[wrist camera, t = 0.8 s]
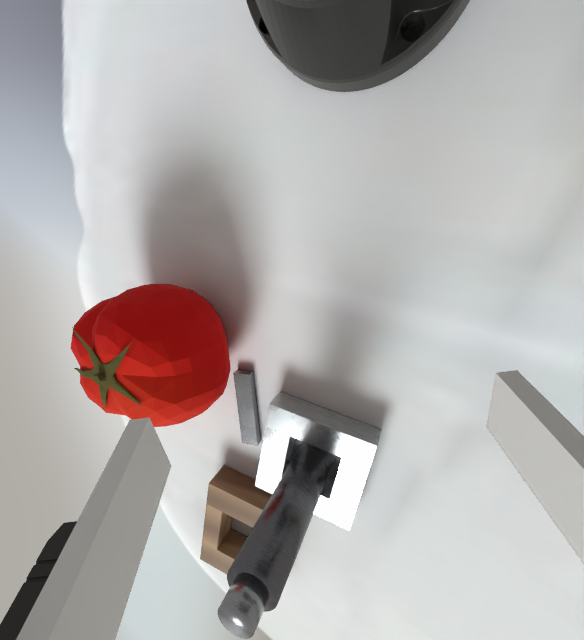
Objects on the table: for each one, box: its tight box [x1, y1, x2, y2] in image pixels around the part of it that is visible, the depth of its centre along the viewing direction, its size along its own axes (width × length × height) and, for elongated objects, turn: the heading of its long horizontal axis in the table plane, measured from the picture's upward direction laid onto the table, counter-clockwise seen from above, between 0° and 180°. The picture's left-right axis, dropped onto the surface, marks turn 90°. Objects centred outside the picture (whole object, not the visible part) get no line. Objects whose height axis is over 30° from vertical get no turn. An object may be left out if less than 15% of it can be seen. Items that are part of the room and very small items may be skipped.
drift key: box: [234, 370, 261, 445], centre depth 35 cm, size 8×2×1 cm, turn 4°
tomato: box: [71, 284, 230, 427], centre depth 30 cm, size 12×13×12 cm
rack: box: [200, 465, 272, 574], centre depth 39 cm, size 12×10×3 cm
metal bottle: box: [218, 442, 336, 639], centre depth 27 cm, size 4×4×16 cm
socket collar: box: [255, 392, 381, 530], centre depth 33 cm, size 10×10×2 cm
